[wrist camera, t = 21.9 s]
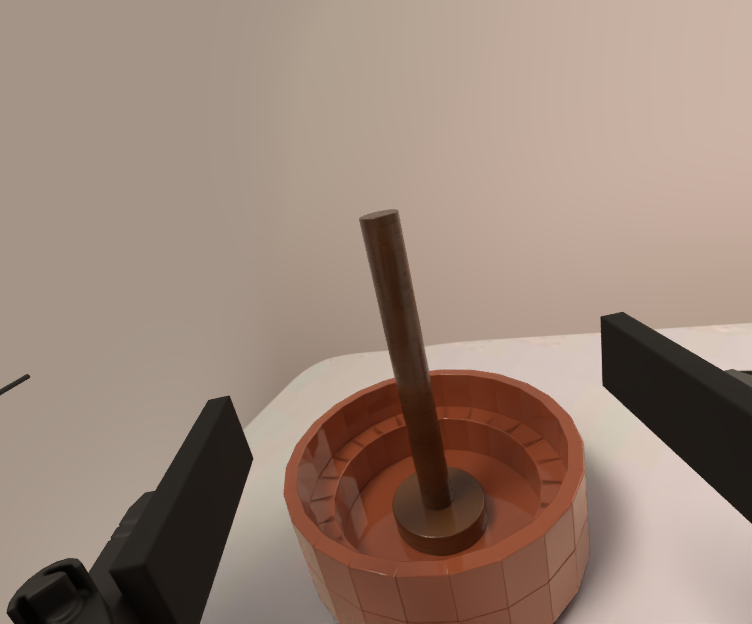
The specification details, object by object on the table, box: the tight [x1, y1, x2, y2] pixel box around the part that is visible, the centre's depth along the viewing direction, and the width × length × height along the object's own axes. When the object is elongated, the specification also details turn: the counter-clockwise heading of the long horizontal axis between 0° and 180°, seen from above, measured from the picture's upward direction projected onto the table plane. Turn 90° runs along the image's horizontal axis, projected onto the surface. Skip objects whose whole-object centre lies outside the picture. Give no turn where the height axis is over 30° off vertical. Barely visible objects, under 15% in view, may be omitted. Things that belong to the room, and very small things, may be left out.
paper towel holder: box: [359, 209, 488, 555], centre depth 25 cm, size 6×6×20 cm
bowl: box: [284, 370, 590, 624], centre depth 28 cm, size 18×18×6 cm
